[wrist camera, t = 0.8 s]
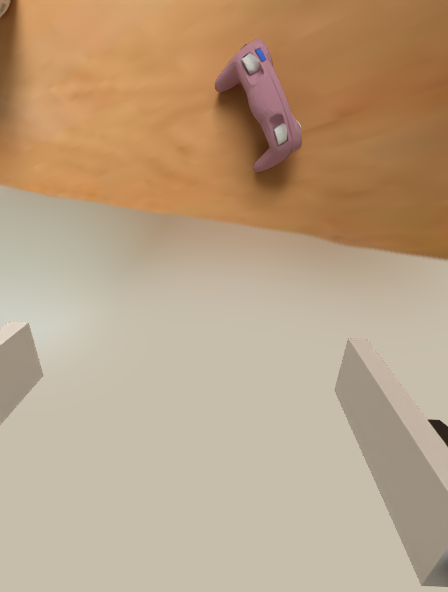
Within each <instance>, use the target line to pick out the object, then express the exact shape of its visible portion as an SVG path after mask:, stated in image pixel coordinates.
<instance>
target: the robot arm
mask: <svg viewBox="0 0 448 592" xmlns="http://www.w3.org/2000/svg"><path fill="white" fill-rule="evenodd" d="M42 377H43V373H42V369H41V366H40V362H39V358H38V355H37V351H36V348H35V344H34V341H33V337H32V334H31V330H30V326H29V323H24V322H9V323H8V324H6V325H5V326H4V327H2V328H1V329H0V425H1V424H2V423H3V421H4V420H5V419H6V418H7V417H8V416H9V415H10V413H11V412H12V411H13V410H14V409H15V408H16V406H17V405H18V404H19V403H20V402H21V401H22V399H23V398H24V397H25V396H26V395H27V394H28V393H29V392H30V390H31V389H32V388H33V387H34V386H35V385H36V383H37V382H38V381H39V380H40V379H41V378H42ZM335 392H336V394H337V397H338V399H339V401H340V403H341V406H342V408H343V410H344V412H345V415H346V417H347V419H348V421H349V424H350V426H351V428H352V430H353V433H354V435H355V437H356V439H357V442H358V444H359V446H360V448H361V451H362V453H363V455H364V457H365V460H366V462H367V464H368V466H369V468H370V471H371V473H372V475H373V477H374V480H375V482H376V484H377V487H378V489H379V491H380V493H381V496H382V498H383V500H384V502H385V505H386V507H387V509H388V511H389V514H390V516H391V518H392V520H393V523H394V525H395V527H396V529H397V532H398V534H399V536H400V538H401V541H402V543H403V545H404V547H405V550H406V552H407V554H408V556H409V558H410V561H411V563H412V565H413V568H414V570H415V572H416V574H417V577H418V578H419V581H420V583H421V585H422V586H441V587H448V426H446V425H445V424H444V423H443V422H441V421H440V420H427V419H426V417H425V416H424V415H423V413H422V412H421V411H420V409H419V408H418V407H417V405H416V404H415V403H414V401H413V400H412V399H411V397H410V396H409V395H408V393H407V392H406V391H405V389H404V388H403V387H402V385H401V384H400V383H399V381H398V380H397V379H396V377H395V376H394V375H393V373H392V372H391V371H390V369H389V368H388V367H387V365H386V364H385V363H384V361H383V360H382V359H381V357H380V356H379V355H378V353H377V352H376V351H375V350H374V348H373V347H372V346H371V344H370V343H369V342H368V340H367V339H351V338H350V339H349V338H348V341H347V345H346V349H345V353H344V356H343V360H342V364H341V368H340V372H339V375H338V380H337V383H336V387H335Z"/></svg>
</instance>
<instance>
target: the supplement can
mask: <svg viewBox="0 0 448 592" xmlns="http://www.w3.org/2000/svg"><path fill="white" fill-rule="evenodd" d="M10 2H11V0H0V17H1V16H2V15H3V14H4V13H5V12H6V10H7V9H8V8H9V5H10Z"/></svg>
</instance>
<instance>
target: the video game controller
mask: <svg viewBox="0 0 448 592" xmlns="http://www.w3.org/2000/svg"><path fill="white" fill-rule="evenodd" d="M240 82H241V84H242V86H243V88H244V90H245V92H246V94H247V98H248V103H249V107H250V110H251V112H252V115H253V116H254V117H255V119H256V120H257V121H258V123H259V124H260V125H261V127H262V130H263V132H264V135H265V137H266V139H267V142H268V144H269V148H268V150H267V151H266V152H265V153H264V154H263V155H262V156H261V157H260V158H259V159H258V160H257V161H256V162H255V164H254V167H253V169H254V171H256V172H261V171H265V170H267V169H269V168H272V167H273V166H275V165H277V164H279V163H280V162H282V161H283V160H284V159H285V158H286V157H288V156H289V155H290V154H291V153H292V152H294V151H296V150H297V149H299V148H300V147H301V144H302V138H301V125H300V123H299V122H298V121H297V120H296V119H295V117H294V116H293V115H292V114H291V111H290V107H289V104H288V101H287V99H286V96H285V94H284V91H283V88H282V86H281V84H280V82H279V79H278V77H277V75H276V73H275V71H274V69H273V64H272V59H271V56H270V53H269V50H268V48H267V46H266V45H265V43H264V42H263V41H262V40H261V39H256V40H254V41H252V42H250V43H248V44H246V45H245V46H243V47H242V48H241V49H240V50H239V52H238V53H236V55H235V56H234V57H233V58H232V59H231V60H230V62H229V63H228V64H227V65H226V67H225V68H224V69H223V71H222V72H221V73H220V75H219V76H218V78H217V80H216V83H215V89H216V91H217V92H224V91H226V90H229V89H231V88H233V87H234V86H236V85H237V84H239V83H240Z"/></svg>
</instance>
